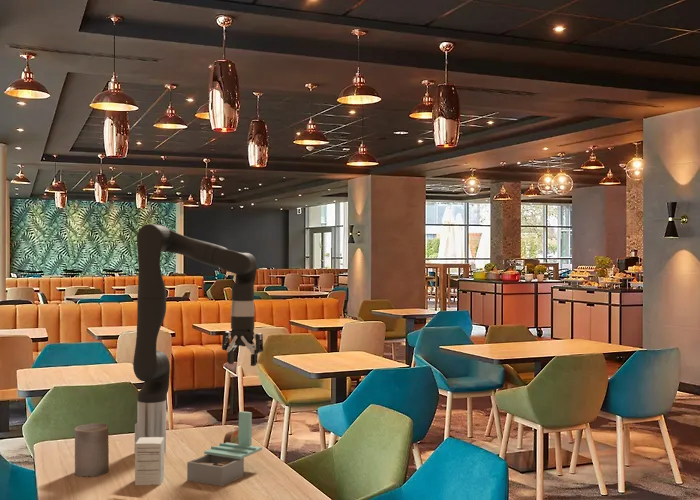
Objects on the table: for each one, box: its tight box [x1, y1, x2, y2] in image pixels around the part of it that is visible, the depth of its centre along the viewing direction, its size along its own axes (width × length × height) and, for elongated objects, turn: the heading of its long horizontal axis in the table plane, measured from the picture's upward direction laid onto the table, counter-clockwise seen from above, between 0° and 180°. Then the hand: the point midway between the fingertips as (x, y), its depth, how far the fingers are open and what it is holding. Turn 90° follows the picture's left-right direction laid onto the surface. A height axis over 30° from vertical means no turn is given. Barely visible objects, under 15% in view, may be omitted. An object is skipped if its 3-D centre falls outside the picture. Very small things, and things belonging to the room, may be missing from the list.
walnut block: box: [217, 461, 231, 466], centre depth 223 cm, size 4×4×4 cm
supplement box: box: [134, 437, 165, 486], centre depth 219 cm, size 7×7×13 cm
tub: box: [186, 454, 245, 487], centre depth 223 cm, size 12×11×6 cm
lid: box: [203, 410, 263, 459], centre depth 231 cm, size 13×13×11 cm
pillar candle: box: [74, 422, 110, 477], centre depth 230 cm, size 10×10×15 cm
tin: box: [222, 426, 239, 444], centre depth 251 cm, size 15×3×8 cm, turn 168°
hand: (242, 364), depth 247 cm, fingers open, 8 cm apart
